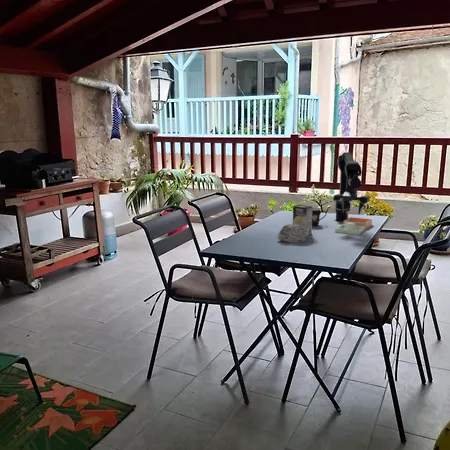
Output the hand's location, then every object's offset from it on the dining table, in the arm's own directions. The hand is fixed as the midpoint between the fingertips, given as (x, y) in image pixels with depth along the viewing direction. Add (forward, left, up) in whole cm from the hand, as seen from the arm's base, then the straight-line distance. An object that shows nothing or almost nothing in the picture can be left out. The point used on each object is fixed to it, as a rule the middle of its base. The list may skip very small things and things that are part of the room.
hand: (350, 213), depth 256 cm
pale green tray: (0, 0, -10) cm, 10 cm away
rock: (-20, -33, -11) cm, 40 cm away
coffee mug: (-23, +6, -11) cm, 26 cm away
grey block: (0, 0, -10) cm, 10 cm away
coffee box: (-21, -18, -11) cm, 30 cm away
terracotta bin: (0, +14, -10) cm, 17 cm away
